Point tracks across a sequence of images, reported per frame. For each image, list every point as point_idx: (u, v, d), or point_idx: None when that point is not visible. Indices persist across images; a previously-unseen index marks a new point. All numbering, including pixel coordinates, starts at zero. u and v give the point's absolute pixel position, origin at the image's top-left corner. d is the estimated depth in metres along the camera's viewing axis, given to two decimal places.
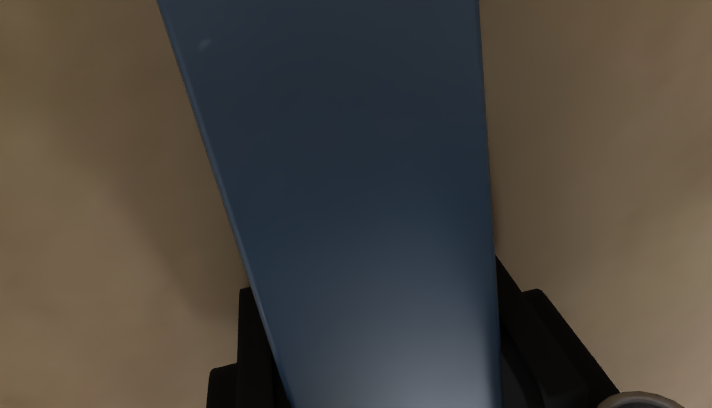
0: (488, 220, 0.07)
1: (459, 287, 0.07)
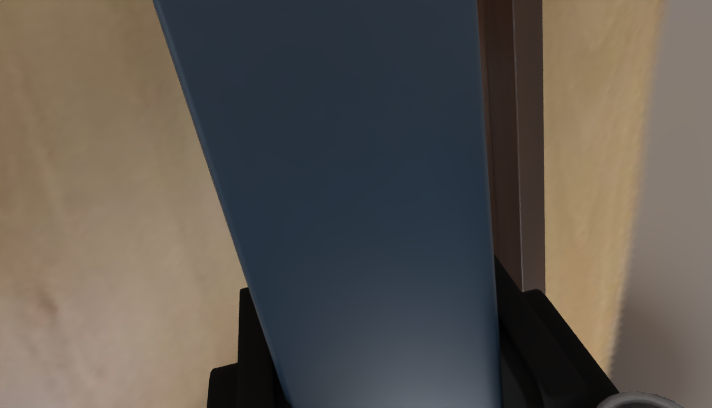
0: (486, 219, 0.07)
1: (457, 285, 0.07)
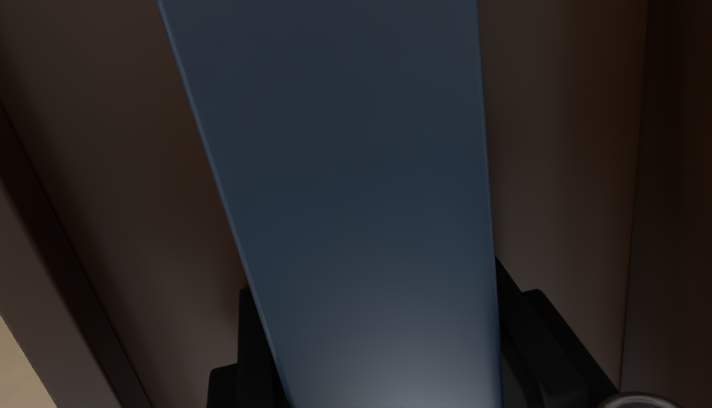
0: (486, 218, 0.07)
1: (458, 284, 0.07)
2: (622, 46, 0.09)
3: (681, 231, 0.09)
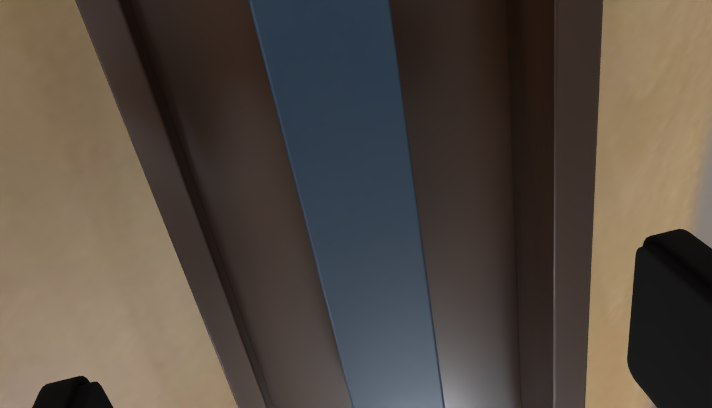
0: (392, 48, 0.13)
1: (379, 88, 0.13)
2: None
3: (527, 86, 0.16)
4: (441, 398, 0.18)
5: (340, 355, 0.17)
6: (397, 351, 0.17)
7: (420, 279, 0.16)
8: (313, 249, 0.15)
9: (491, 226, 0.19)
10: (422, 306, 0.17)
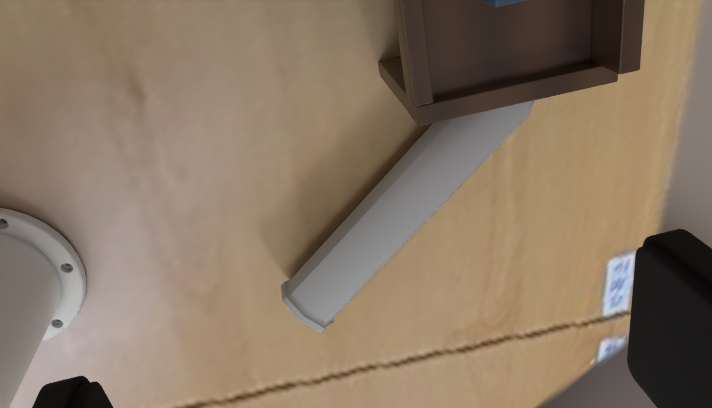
0: None
1: None
2: None
3: None
4: None
5: None
6: None
7: None
8: None
9: None
10: None
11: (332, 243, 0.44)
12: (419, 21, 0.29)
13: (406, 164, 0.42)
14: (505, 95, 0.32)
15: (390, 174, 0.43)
